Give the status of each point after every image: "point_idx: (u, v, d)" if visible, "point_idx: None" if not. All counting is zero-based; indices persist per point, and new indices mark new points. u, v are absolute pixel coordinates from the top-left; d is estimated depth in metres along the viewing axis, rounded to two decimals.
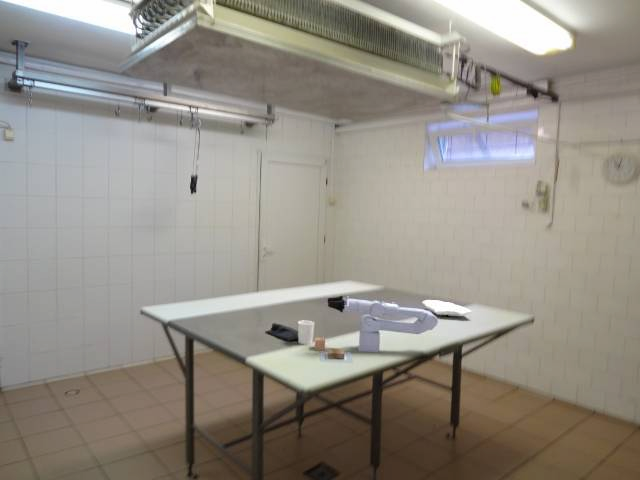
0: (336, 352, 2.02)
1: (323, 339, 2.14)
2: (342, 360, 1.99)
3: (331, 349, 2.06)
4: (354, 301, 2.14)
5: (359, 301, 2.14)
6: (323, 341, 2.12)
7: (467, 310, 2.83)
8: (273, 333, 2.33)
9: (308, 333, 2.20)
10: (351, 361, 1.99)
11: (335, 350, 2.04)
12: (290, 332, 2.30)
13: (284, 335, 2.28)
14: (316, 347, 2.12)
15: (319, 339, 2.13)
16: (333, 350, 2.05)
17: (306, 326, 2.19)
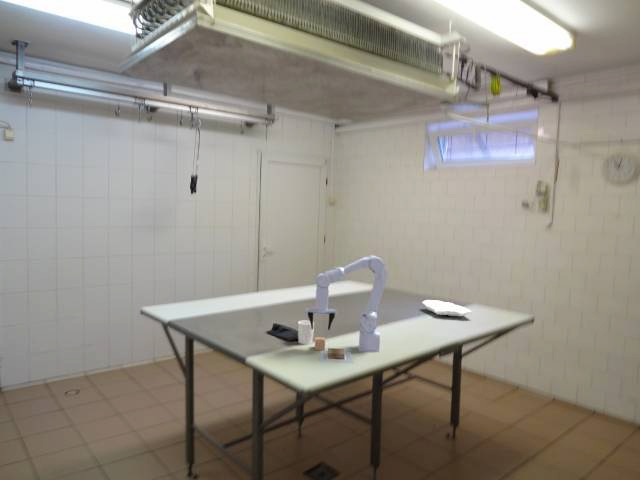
0: (336, 352, 2.02)
1: (323, 339, 2.14)
2: (342, 360, 1.99)
3: (331, 349, 2.06)
4: (325, 304, 2.11)
5: (317, 298, 2.11)
6: (323, 341, 2.12)
7: (467, 310, 2.83)
8: (274, 333, 2.33)
9: (308, 333, 2.20)
10: (351, 361, 1.99)
11: (335, 350, 2.04)
12: (291, 332, 2.30)
13: (285, 335, 2.28)
14: (316, 347, 2.12)
15: (319, 339, 2.13)
16: (333, 350, 2.05)
17: (306, 326, 2.19)
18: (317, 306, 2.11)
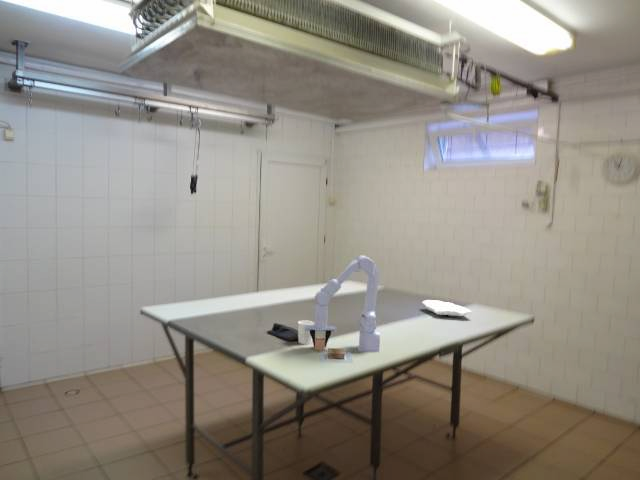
0: (336, 352, 2.02)
1: (323, 339, 2.14)
2: (342, 360, 1.99)
3: (331, 349, 2.06)
4: (324, 322, 2.11)
5: (316, 316, 2.12)
6: (323, 341, 2.12)
7: (467, 310, 2.83)
8: (274, 333, 2.33)
9: (308, 333, 2.20)
10: (351, 361, 1.99)
11: (335, 350, 2.04)
12: (291, 332, 2.30)
13: (285, 335, 2.28)
14: (316, 347, 2.12)
15: (319, 339, 2.13)
16: (333, 350, 2.05)
17: None
18: (316, 323, 2.12)
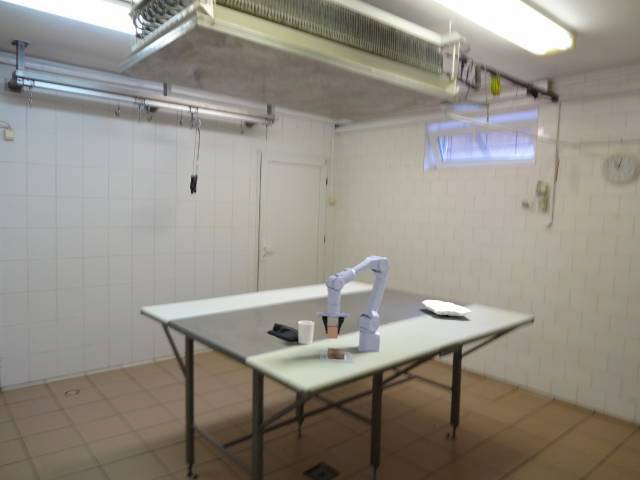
0: (336, 352, 2.02)
1: (336, 326, 2.06)
2: (342, 360, 1.99)
3: (331, 349, 2.06)
4: (337, 308, 2.03)
5: (331, 302, 2.03)
6: (336, 328, 2.04)
7: (467, 310, 2.83)
8: (275, 333, 2.33)
9: (308, 333, 2.20)
10: (351, 361, 1.99)
11: (335, 350, 2.04)
12: (292, 332, 2.30)
13: (286, 335, 2.28)
14: (328, 334, 2.04)
15: (332, 326, 2.06)
16: (333, 350, 2.05)
17: (306, 326, 2.19)
18: (329, 309, 2.04)
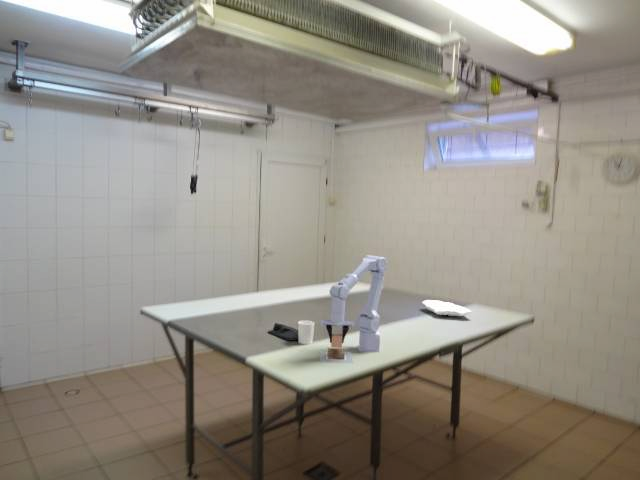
0: (336, 352, 2.02)
1: (340, 335, 2.03)
2: (342, 360, 1.99)
3: (331, 349, 2.06)
4: (342, 316, 2.01)
5: (336, 311, 2.00)
6: (340, 337, 2.02)
7: (467, 310, 2.83)
8: (275, 333, 2.33)
9: (308, 333, 2.20)
10: (351, 361, 1.99)
11: (335, 350, 2.04)
12: (292, 332, 2.30)
13: (286, 335, 2.28)
14: (333, 343, 2.02)
15: (336, 335, 2.03)
16: (333, 350, 2.05)
17: (306, 326, 2.19)
18: (333, 318, 2.01)
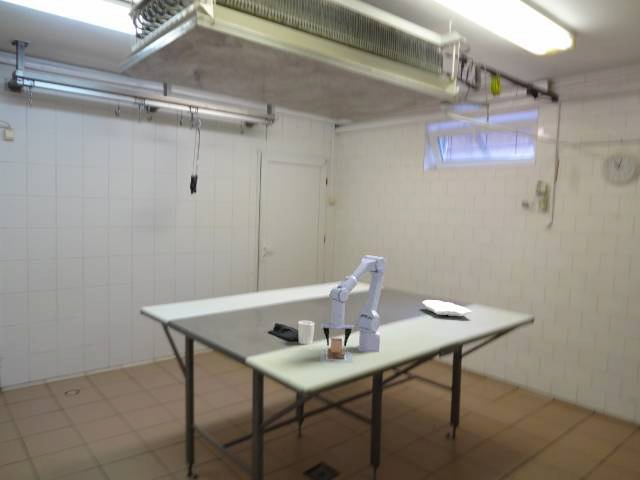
0: None
1: (340, 340, 2.03)
2: (342, 360, 1.99)
3: None
4: (342, 319, 2.01)
5: (336, 314, 2.00)
6: (340, 342, 2.02)
7: (467, 310, 2.83)
8: (275, 333, 2.33)
9: (308, 333, 2.20)
10: (351, 361, 1.99)
11: None
12: (292, 332, 2.30)
13: (286, 335, 2.28)
14: (333, 348, 2.02)
15: (336, 340, 2.03)
16: None
17: (306, 326, 2.19)
18: (333, 321, 2.01)
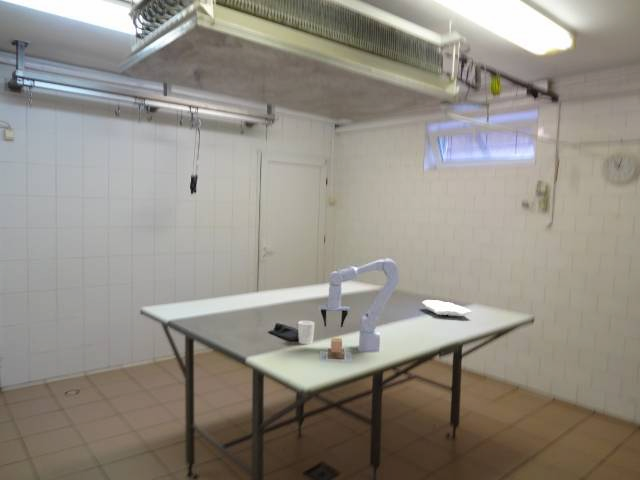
0: None
1: (340, 340, 2.03)
2: (342, 360, 1.99)
3: None
4: (338, 302, 2.13)
5: (329, 296, 2.14)
6: (340, 342, 2.02)
7: (467, 310, 2.83)
8: (276, 333, 2.33)
9: (308, 333, 2.20)
10: (351, 361, 1.99)
11: None
12: (293, 332, 2.30)
13: (287, 335, 2.28)
14: (333, 348, 2.02)
15: (336, 340, 2.03)
16: None
17: (306, 326, 2.19)
18: (330, 303, 2.14)
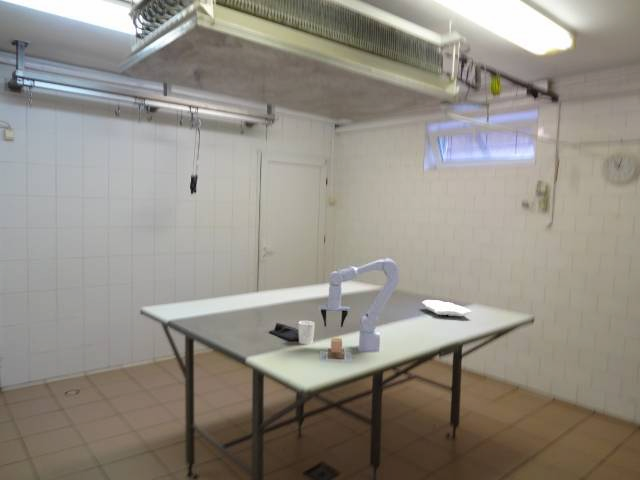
0: None
1: (340, 340, 2.03)
2: (342, 360, 1.99)
3: None
4: (338, 302, 2.13)
5: (329, 296, 2.14)
6: (340, 342, 2.02)
7: (467, 310, 2.83)
8: (276, 333, 2.34)
9: (308, 333, 2.19)
10: (351, 361, 1.99)
11: None
12: (293, 332, 2.30)
13: (287, 335, 2.28)
14: (333, 348, 2.02)
15: (336, 340, 2.03)
16: None
17: (307, 326, 2.19)
18: (330, 303, 2.14)
